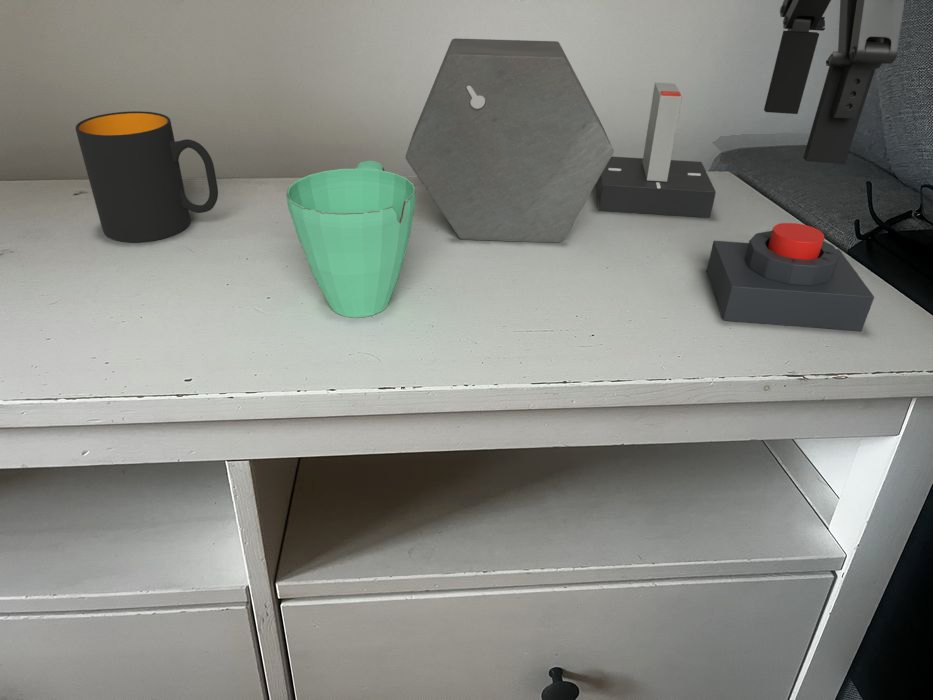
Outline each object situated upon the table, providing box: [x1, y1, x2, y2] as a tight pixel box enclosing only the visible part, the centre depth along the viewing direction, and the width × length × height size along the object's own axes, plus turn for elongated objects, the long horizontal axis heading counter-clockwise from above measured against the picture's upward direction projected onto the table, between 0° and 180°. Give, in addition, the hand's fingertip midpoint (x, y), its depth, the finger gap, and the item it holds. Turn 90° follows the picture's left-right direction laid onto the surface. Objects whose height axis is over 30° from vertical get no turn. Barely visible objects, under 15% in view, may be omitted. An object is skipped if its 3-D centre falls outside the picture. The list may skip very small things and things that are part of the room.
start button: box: [768, 222, 825, 260], centre depth 60 cm, size 4×4×2 cm
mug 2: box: [285, 160, 416, 319], centre depth 60 cm, size 15×10×10 cm
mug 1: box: [75, 110, 219, 243], centre depth 70 cm, size 8×12×10 cm
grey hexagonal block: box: [405, 37, 615, 243], centre depth 70 cm, size 17×8×21 cm
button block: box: [706, 230, 875, 332], centre depth 61 cm, size 11×9×5 cm
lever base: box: [596, 156, 717, 219], centre depth 82 cm, size 12×10×3 cm
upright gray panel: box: [642, 82, 683, 182], centre depth 79 cm, size 6×2×9 cm, turn 173°
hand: (799, 134), depth 58 cm, fingers open, 13 cm apart
